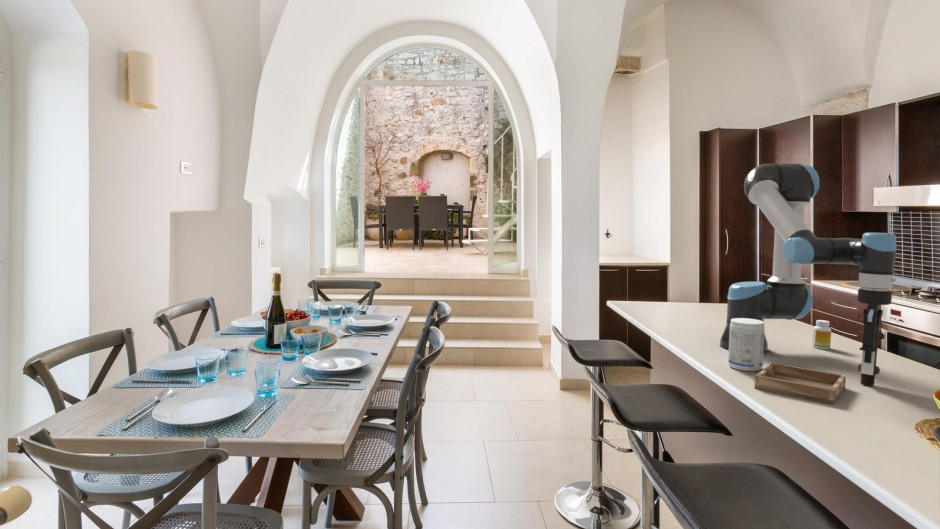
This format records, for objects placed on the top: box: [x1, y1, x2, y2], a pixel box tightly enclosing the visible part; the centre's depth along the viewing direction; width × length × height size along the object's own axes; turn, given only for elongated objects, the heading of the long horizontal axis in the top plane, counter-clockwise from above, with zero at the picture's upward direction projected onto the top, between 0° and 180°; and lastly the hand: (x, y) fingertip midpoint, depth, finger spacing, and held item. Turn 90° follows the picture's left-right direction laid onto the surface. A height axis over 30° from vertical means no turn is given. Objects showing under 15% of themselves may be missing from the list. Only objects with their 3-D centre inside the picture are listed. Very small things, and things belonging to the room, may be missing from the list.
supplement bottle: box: [811, 319, 832, 350], centre depth 193 cm, size 5×5×10 cm
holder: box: [753, 362, 847, 405], centre depth 147 cm, size 18×18×4 cm
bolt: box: [856, 329, 885, 387], centre depth 150 cm, size 6×5×15 cm
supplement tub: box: [727, 318, 765, 372], centre depth 166 cm, size 10×10×15 cm
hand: (868, 371), depth 151 cm, fingers open, 4 cm apart
